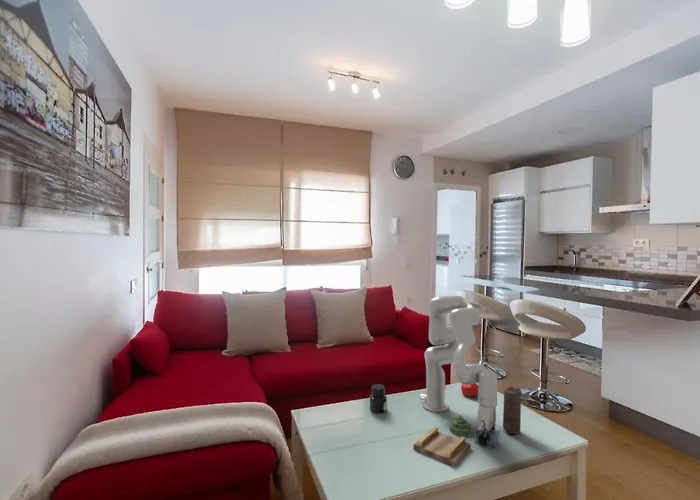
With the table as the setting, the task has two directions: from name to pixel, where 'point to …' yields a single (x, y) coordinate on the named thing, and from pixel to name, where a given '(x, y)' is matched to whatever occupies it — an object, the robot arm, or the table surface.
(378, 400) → the ink bottle
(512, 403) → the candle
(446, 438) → the channel stand
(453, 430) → the decorative artifact
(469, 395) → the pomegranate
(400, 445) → the table surface
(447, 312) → the robot arm
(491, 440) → the block
